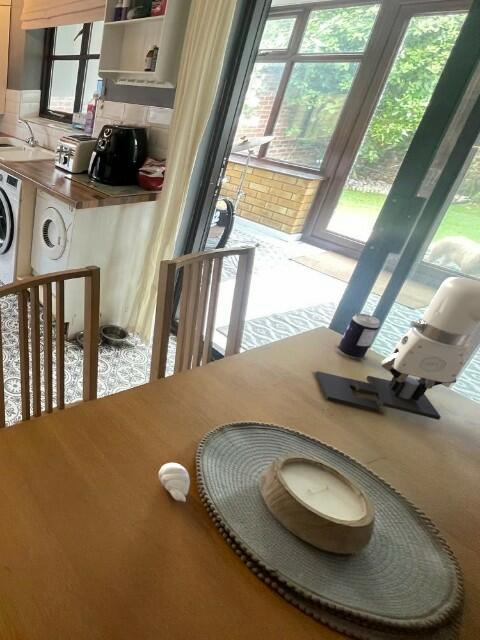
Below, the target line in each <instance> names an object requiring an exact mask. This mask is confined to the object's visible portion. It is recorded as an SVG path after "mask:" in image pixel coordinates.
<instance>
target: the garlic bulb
mask: <svg viewBox="0 0 480 640" xmlns="http://www.w3.org/2000/svg"><path fill="white" fill-rule="evenodd" d="M158 480H159V482H160V483H161V485H162V486H163V487H164V488H165V490H166V491H167V492H168V493H170V495H171V497H172V498H173V499H174V500H176V501H179V502H180V501H181V502H182V503H186V501H187V498H186V496H187V495H188V494H189V490H190V485H191V479H190V474H189V471H188V470H187V469H186V468H185V467H184V466H182V465H181V464H180V463H177V462H167V463H165V464H163V465H162V466H161V467H160V469H159V471H158Z"/></svg>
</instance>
